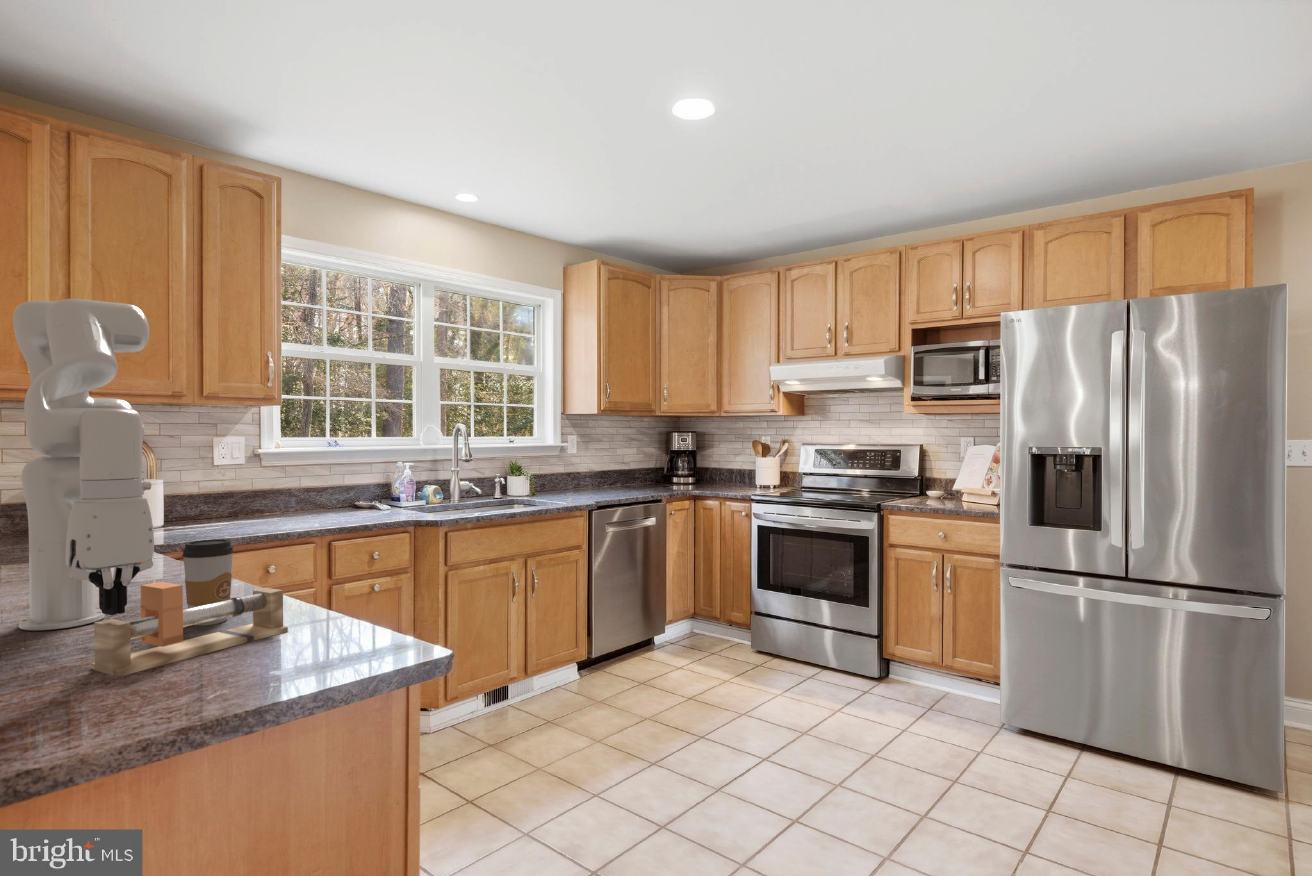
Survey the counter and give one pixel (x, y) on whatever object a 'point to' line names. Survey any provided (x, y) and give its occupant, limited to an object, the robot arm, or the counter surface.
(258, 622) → the beige long frame
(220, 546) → the coffee cup
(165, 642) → the collar
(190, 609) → the pipe
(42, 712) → the counter surface
